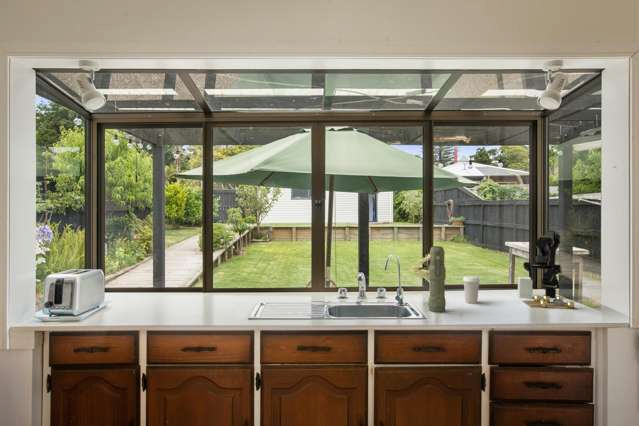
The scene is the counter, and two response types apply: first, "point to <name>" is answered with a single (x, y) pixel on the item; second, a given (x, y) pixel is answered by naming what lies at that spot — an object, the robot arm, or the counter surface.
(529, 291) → the supplement box
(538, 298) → the brass spacers
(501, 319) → the counter surface
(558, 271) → the robot arm
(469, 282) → the coffee cup
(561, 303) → the steel nut
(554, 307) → the walnut board
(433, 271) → the green bumpy column
